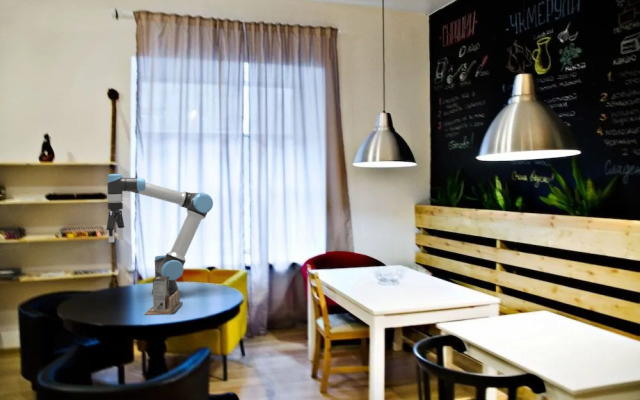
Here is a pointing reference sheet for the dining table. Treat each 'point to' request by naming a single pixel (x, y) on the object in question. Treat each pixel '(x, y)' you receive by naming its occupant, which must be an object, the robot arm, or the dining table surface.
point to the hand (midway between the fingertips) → (115, 240)
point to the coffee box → (160, 293)
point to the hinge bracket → (173, 305)
